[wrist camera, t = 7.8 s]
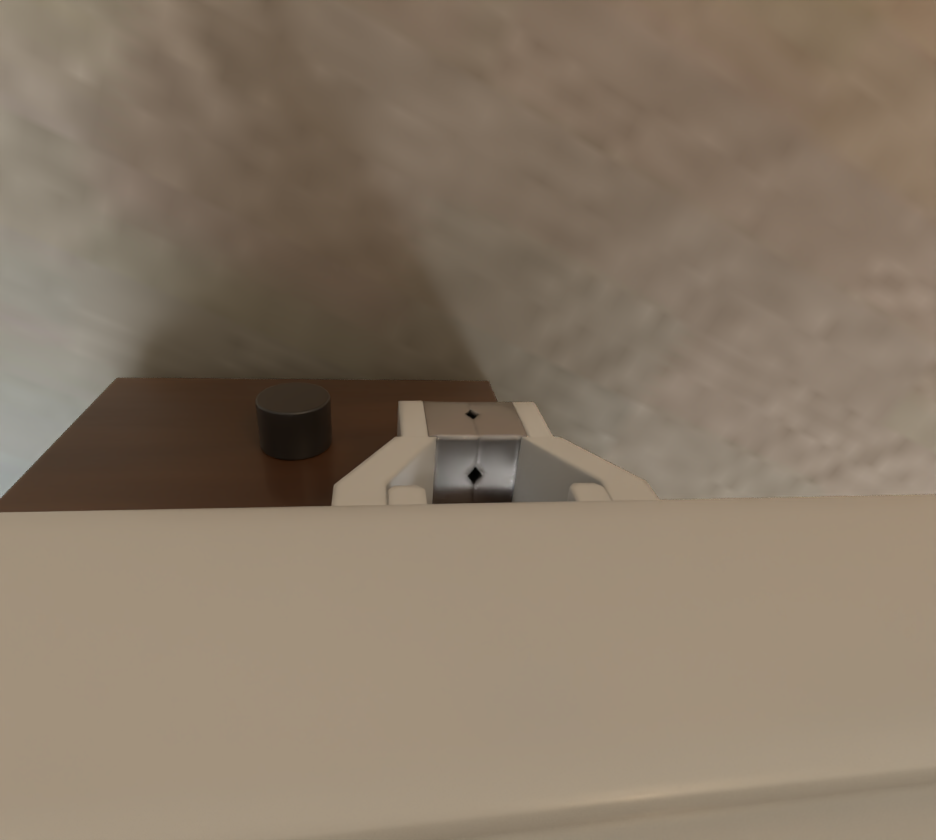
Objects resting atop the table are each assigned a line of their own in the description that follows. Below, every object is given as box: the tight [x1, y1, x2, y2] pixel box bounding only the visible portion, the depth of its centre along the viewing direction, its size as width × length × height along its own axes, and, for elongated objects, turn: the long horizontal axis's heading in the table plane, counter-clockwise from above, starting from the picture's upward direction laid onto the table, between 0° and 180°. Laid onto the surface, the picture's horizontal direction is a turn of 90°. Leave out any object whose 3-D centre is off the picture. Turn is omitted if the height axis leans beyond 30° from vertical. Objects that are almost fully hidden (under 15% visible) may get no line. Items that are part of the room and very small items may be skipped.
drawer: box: [0, 378, 497, 513], centre depth 16 cm, size 14×10×7 cm
